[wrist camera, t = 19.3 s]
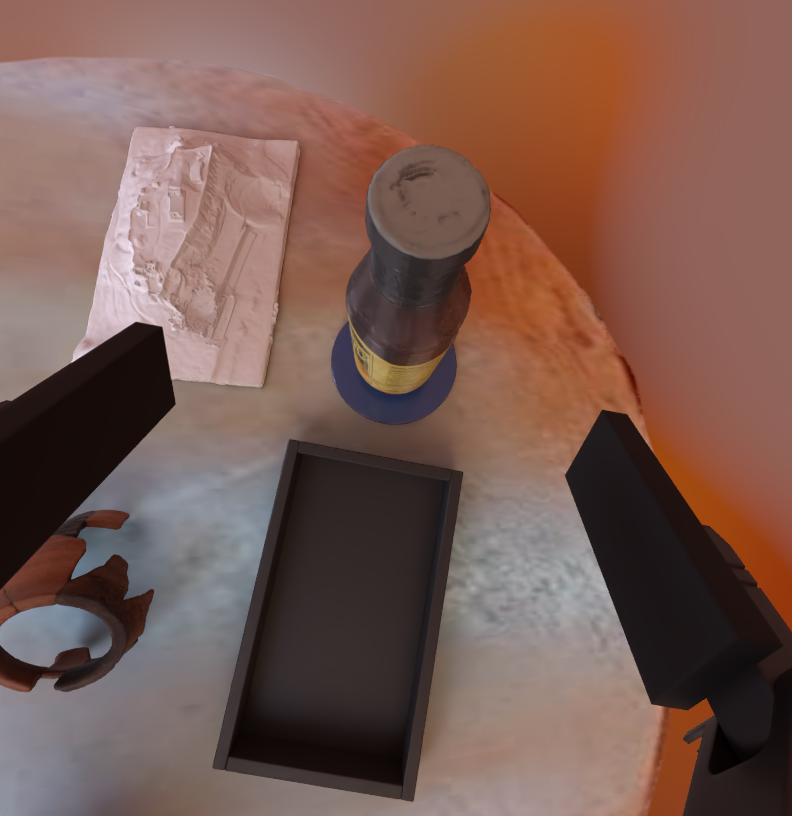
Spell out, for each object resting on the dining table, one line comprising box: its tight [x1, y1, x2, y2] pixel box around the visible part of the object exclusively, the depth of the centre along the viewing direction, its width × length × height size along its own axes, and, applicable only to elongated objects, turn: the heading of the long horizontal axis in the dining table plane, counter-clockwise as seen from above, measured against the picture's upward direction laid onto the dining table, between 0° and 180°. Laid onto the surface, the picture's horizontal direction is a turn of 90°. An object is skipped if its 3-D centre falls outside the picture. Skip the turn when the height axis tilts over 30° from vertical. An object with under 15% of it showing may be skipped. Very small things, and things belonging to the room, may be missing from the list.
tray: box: [213, 439, 463, 802], centre depth 28 cm, size 13×21×3 cm, turn 170°
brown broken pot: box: [0, 510, 154, 692], centre depth 26 cm, size 12×10×8 cm
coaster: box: [331, 321, 457, 425], centre depth 33 cm, size 10×10×1 cm
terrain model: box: [70, 126, 300, 388], centre depth 32 cm, size 17×23×5 cm
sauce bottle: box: [346, 145, 491, 395], centre depth 23 cm, size 6×6×20 cm
